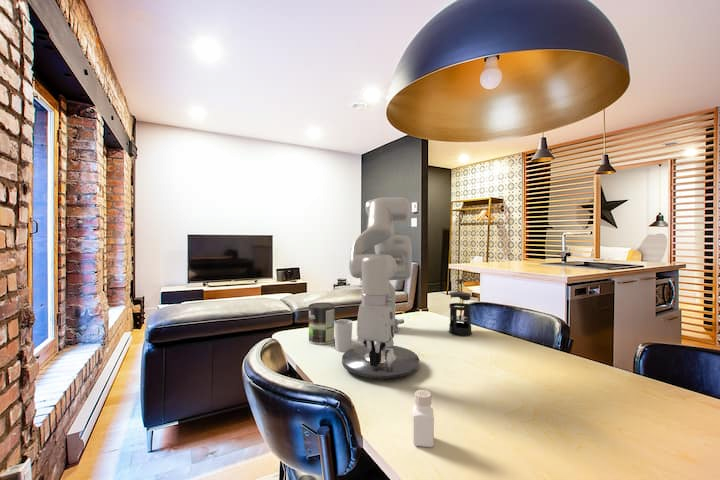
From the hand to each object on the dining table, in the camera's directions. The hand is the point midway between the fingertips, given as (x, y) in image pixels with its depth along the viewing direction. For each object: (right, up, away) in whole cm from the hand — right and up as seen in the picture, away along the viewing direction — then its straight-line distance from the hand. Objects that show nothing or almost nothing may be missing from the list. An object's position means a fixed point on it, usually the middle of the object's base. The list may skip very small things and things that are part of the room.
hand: (375, 364), depth 89 cm
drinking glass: (-10, -5, +26) cm, 28 cm away
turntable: (+2, -5, +10) cm, 11 cm away
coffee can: (-19, -5, +36) cm, 41 cm away
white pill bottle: (+8, -5, -27) cm, 28 cm away
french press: (+39, -5, +46) cm, 61 cm away
